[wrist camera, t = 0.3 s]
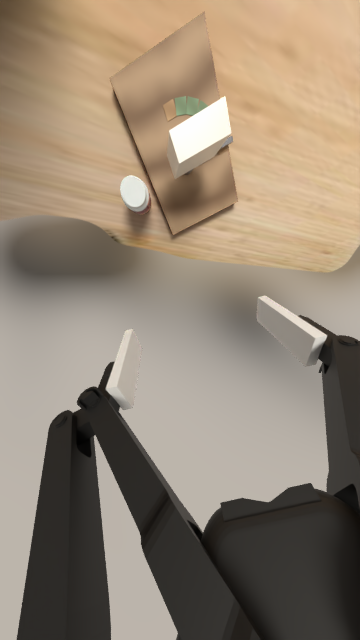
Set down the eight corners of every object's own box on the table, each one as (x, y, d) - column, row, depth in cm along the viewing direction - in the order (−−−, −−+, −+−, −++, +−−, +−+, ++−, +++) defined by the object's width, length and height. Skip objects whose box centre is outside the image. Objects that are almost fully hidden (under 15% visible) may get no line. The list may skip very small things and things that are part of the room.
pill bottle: (154, 209, 32) (153, 203, 25) (134, 218, 33) (127, 215, 25) (144, 181, 30) (139, 166, 23) (123, 191, 30) (111, 179, 23)
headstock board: (113, 88, 24) (109, 77, 22) (201, 28, 22) (204, 10, 20) (172, 234, 35) (173, 235, 33) (234, 202, 33) (238, 201, 31)
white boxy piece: (166, 165, 27) (168, 130, 18) (228, 128, 26) (269, 68, 16) (173, 185, 29) (179, 163, 19) (232, 151, 27) (271, 109, 18)
